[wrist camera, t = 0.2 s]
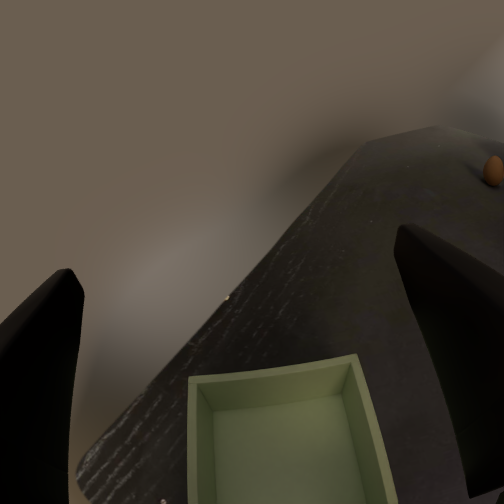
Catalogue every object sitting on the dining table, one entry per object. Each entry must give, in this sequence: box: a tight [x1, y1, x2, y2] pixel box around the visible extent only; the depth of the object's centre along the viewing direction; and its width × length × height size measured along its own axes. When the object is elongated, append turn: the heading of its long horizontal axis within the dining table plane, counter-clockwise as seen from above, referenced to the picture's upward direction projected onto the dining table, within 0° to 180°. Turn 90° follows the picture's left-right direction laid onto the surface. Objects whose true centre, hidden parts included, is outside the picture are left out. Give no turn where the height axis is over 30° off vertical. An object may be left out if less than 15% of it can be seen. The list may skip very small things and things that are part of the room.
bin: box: [187, 354, 398, 504], centre depth 17 cm, size 11×11×6 cm
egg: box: [483, 156, 504, 186], centre depth 44 cm, size 4×4×6 cm
